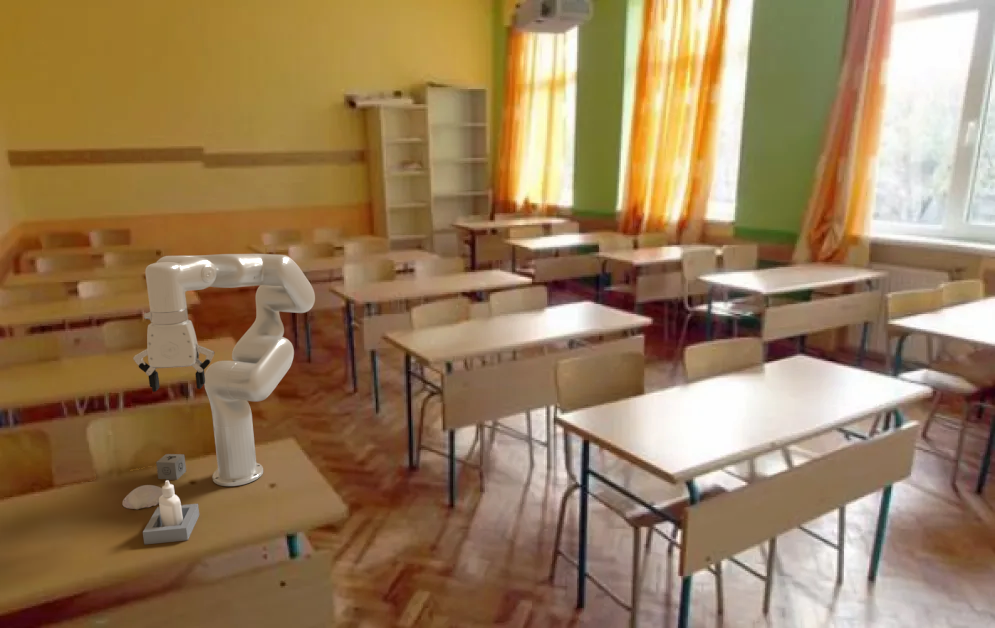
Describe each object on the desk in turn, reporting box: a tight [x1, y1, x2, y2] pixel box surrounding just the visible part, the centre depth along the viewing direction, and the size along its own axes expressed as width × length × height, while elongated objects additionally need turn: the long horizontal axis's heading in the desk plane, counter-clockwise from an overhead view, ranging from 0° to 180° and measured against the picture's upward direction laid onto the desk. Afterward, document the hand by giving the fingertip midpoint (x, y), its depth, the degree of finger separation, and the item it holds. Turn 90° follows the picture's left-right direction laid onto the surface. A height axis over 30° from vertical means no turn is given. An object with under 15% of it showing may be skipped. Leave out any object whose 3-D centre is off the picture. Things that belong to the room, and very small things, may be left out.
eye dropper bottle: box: [158, 480, 183, 527], centre depth 158 cm, size 4×6×12 cm
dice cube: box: [155, 453, 187, 481], centre depth 185 cm, size 5×5×5 cm
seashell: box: [122, 484, 163, 510], centre depth 172 cm, size 10×6×10 cm
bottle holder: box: [142, 503, 200, 545], centre depth 159 cm, size 11×9×3 cm
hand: (178, 388), depth 162 cm, fingers open, 9 cm apart
